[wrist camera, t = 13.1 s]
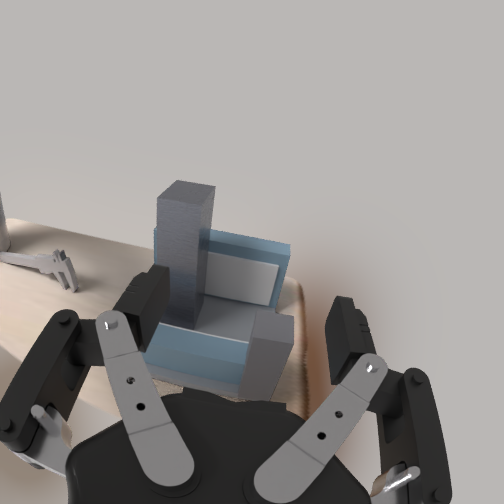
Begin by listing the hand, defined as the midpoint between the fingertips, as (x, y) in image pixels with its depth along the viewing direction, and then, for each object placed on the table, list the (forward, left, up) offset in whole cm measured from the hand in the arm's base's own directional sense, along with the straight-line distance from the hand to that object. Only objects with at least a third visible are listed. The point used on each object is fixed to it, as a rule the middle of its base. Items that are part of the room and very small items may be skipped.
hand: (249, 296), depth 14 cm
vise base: (-5, +12, -17) cm, 21 cm away
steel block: (-7, +14, -16) cm, 22 cm away
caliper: (-32, +14, -17) cm, 39 cm away
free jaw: (-4, +6, -16) cm, 17 cm away
